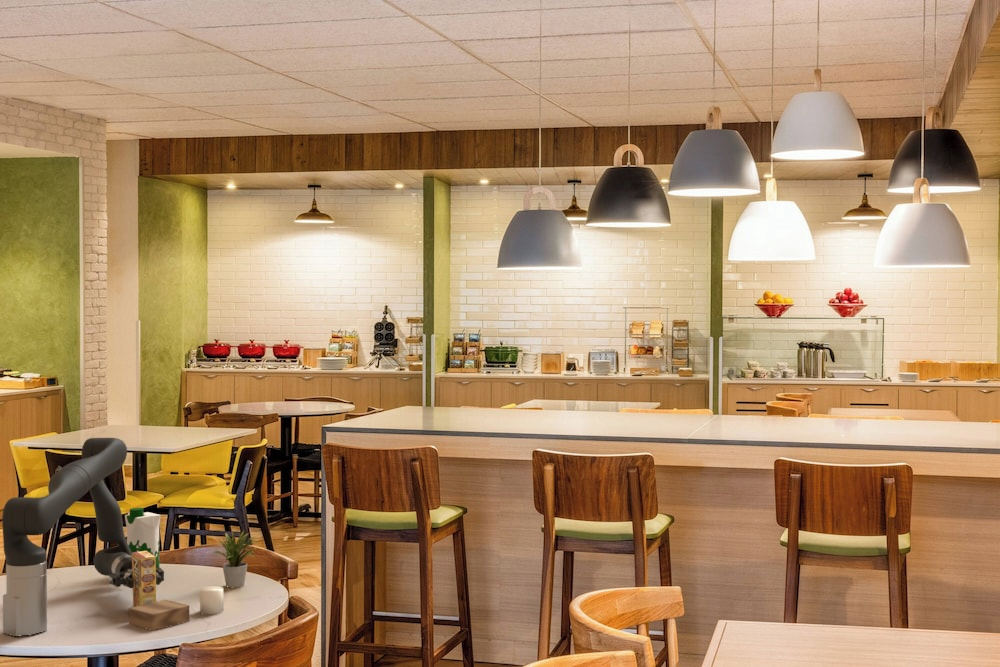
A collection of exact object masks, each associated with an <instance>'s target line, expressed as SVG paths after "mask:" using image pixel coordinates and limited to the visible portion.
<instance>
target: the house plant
mask: <svg viewBox="0 0 1000 667" xmlns="http://www.w3.org/2000/svg"><path fill="white" fill-rule="evenodd" d="M244 533H245V529H243V530H242V531H241V532H240V535H239V537H238V539H237V540H236V537H235V534H234V531H233V530H231V537H230V535H229V534H228V533H227V532H225V533H224V534H225V535H224V536H225V539H226V540H224V539H222V540H221V539H220V538H216V540H217V541H219V543H220V544H221V545H222V546H223V548H224V549H225V553H223V552H222V551H219V550H216V551H213V552H212V554H220V555H222V556H224V557H225V562H226V563H223V564H222V572H223V575H224V581H225V586H228V587H239V588H242V587H241V586H243V587H244V586H245V584H246V576H247V571H248V570H247V569H248V563H247V562H244V561H243V560H244V559H245V558H246V557H247V555H249V556H251V557H252V558H254V555H253V554H254V553H255V554H256V552H255V551H254V550H256V549H257V547H254V548H251V549H246V548H247V547H248V546H251V545H254V544H258V543H259V541H256V540H257V538H258V537H259V535H257V536H254V537H249V538H248V539H247V536H248V535H249V532H247V533H245V534H244ZM261 536H263V535H262V534H261V535H260V537H261ZM254 540H255V542H253V541H254ZM252 553H253V554H252ZM227 561H228V562H227ZM228 587H227V588H228Z"/></svg>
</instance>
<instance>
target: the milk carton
mask: <svg viewBox="0 0 1000 667" xmlns="http://www.w3.org/2000/svg"><path fill="white" fill-rule="evenodd" d="M144 510H145V509H144V508H143V507H132V508H129V514H124V520H125V525H126V526H125V527H126V541H127V544H128V546H129V548H130V550H131V553H132V552H140V551H147V552H149V553H151V554H152V555H154V556H155V557H156V568H158V567H159V568H160V524H161V516H162V515H161V514H157V513H155V512H154V513H153V512H149V511H146V512H144Z"/></svg>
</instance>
